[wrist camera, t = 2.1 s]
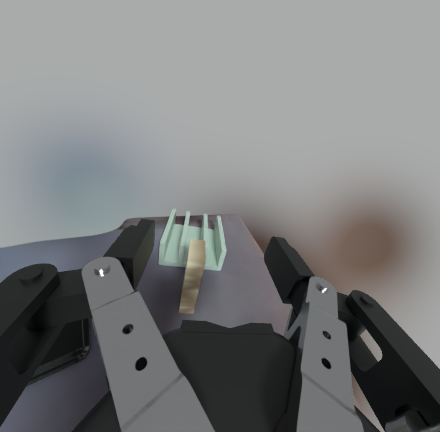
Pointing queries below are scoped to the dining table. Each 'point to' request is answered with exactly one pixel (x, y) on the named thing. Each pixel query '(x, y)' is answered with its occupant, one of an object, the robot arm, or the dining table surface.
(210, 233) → the slotted rack
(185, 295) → the tan wooden block
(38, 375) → the phone
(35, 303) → the robot arm
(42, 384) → the dining table surface
